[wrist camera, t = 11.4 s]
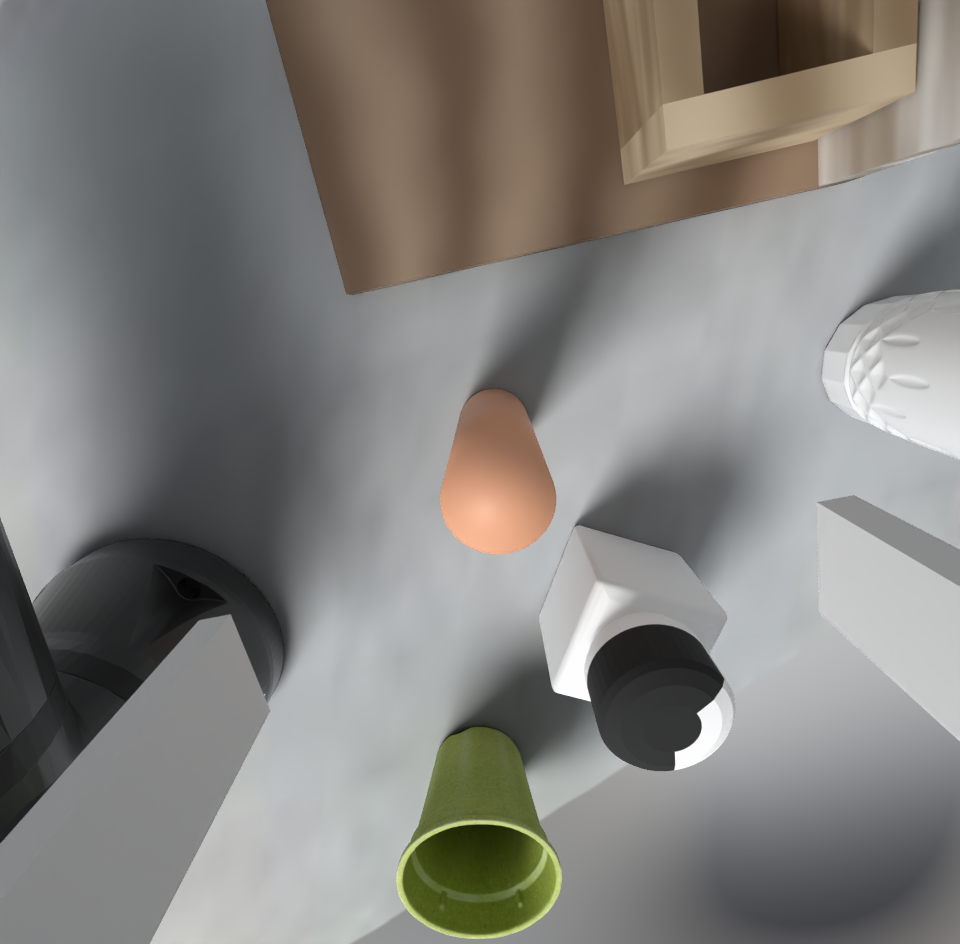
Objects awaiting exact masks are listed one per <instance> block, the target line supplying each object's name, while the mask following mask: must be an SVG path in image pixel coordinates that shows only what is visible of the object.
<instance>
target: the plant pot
mask: <svg viewBox="0 0 960 944" xmlns="http://www.w3.org/2000/svg"><path fill="white" fill-rule="evenodd" d="M396 883H397V889H398V893H399V896H400V898H401V900H402V902H403V904H404V906H405V907H406V908H407V910H408V911H409V912H410V913H411V914H412V915H413V916H414V917H415V918H416V919H418V920H419V921H420V922H422V923H423V924H425V925H426V926H428V927H430V928H431V929H434V930H436V931H439V932H441V933H443V934H446V935H451V936H455V937H461V938H469V939H482V938H497V937H501V936H505V935H509V934H512V933H515V932H518V931H521V930H523V929H525V928H527V927H529V926H530V925H532V924H533V923H534V922H536V921H537V920H539V919H540V918H542V917H543V916H544V915H545V914H546V913H547V912H548V911H549V910H550V909H551V907H552V906H553V904H554V903H555V901H556V899H557V898H558V895H559V893H560V889H561V884H562V870H561V865H560V861H559V858H558V856H557V854H556V852H555V850H554V848H553V847H552V845H551V844H550V843H549V842H548V840H547V837H546V834H545V832H544V830H543V829H542V828H541V826H540V823H539V820H538V816H537V813H536V809H535V806H534V803H533V799H532V795H531V792H530V788H529V785H528V781H527V777H526V773H525V770H524V766H523V762H522V759H521V755H520V752H519V750H518V749H517V747H516V746H515V744H514V743H513V741H512V739H511V738H510V737H508V736H507V735H506V734H504V733H502V732H500V731H498V730H495V729H492V728H487V727H471V728H469V729H467V730H465V731H463V732H461V733H459V734H456V735H451V736H449V737H448V738H447V739H446V740H445V741H444V742H443V744H442V745H441V747H440V748H439V751H438V753H437V757H436V761H435V765H434V769H433V773H432V777H431V781H430V785H429V789H428V792H427V796H426V800H425V804H424V808H423V811H422V815H421V819H420V822H419V826H418V827H417V829H416V831H415V832H414V834H413V836H412V839H411V842H410V843H409V844H408V846H407V847H406V849H405V850H404V852H403V854H402V856H401V858H400V861H399V865H398V869H397V876H396Z"/></svg>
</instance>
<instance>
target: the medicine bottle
mask: <svg viewBox="0 0 960 944" xmlns="http://www.w3.org/2000/svg"><path fill="white" fill-rule="evenodd" d="M726 621H727V615H726V612H725V611H724V610H723V609H722V607H721V606H720V605H719V604H718V602H717V601H716V600H715V599H714V597H713V596H712V595H711V594H710V592H709V591H708V590H707V589H706V587H705V586H704V585H703V584H702V582H701V581H700V580H699V579H698V577H697V576H696V575H695V574H694V572H693V571H692V570H691V569H690V567H689V566H688V565H687V564H686V562H685V561H684V560H683V559H682V557H681V556H680V555H679V554H677V553H675V552H671V551H668V550H664V549H661V548H657V547H654V546H650V545H647V544H643V543H640V542H636V541H633V540H629V539H626V538H622V537H619V536H615V535H612V534H608V533H605V532H601V531H598V530H594V529H591V528H587V527H584V526H580V525H577V526H575V527H574V528H573V531H572V533H571V536H570V538H569V541H568V543H567V546H566V549H565V551H564V554H563V556H562V559H561V561H560V564H559V567H558V569H557V572H556V574H555V577H554V579H553V582H552V584H551V587H550V590H549V592H548V595H547V597H546V600H545V602H544V605H543V607H542V610H541V613H540V615H539V622H540V627H541V632H542V637H543V643H544V648H545V653H546V658H547V663H548V669H549V674H550V679H551V684H552V688H553V690H554V691H555V692H556V693H559V694H563V695H567V696H571V697H575V698H579V699H583V700H587V701H591V703H592V707H593V710H594V714H595V717H596V721H597V724H598V728H599V731H600V735H601V737H602V739H603V741H604V743H605V744H606V746H607V747H608V748H609V750H610V751H611V752H612V753H613V754H615V755H616V756H617V757H619V758H620V759H622V760H623V761H625V762H627V763H629V764H631V765H634V766H637V767H639V768H643V769H647V770H654V771H671V770H678V769H682V768H685V767H689V766H692V765H694V764H696V763H698V762H700V761H702V760H704V759H705V758H707V757H708V756H710V755H711V754H712V753H714V752H715V751H716V750H717V749H718V748H719V747H720V745H721V744H722V743H723V742H724V740H725V739H726V737H727V735H728V733H729V731H730V729H731V726H732V724H733V721H734V717H735V699H734V695H733V692H732V690H731V688H730V686H729V684H728V683H727V681H726V680H725V678H724V677H723V675H722V673H721V672H720V670H719V669H718V667H717V666H716V664H715V663H714V661H713V660H712V658H711V657H710V655H709V654H710V652H711V650H712V648H713V646H714V644H715V642H716V640H717V638H718V636H719V634H720V632H721V630H722V628H723V626H724V625H725V623H726Z"/></svg>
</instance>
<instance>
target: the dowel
mask: <svg viewBox="0 0 960 944" xmlns="http://www.w3.org/2000/svg"><path fill="white" fill-rule="evenodd" d="M440 505H441V511H442V515H443V518H444V521H445V523H446V524H447V526H448V528H449V529H450V531H451V532H452V533H453V534H454V536H455V537H456V538H457V539H459V540H460V541H461V542H462V543H464V544H465V545H467V546H468V547H470V548H472V549H474V550H477V551H480V552H484V553H489V554H506V553H512V552H516V551H519V550H521V549H524V548H526V547H527V546H529V545H531V544H532V543H534V542H535V541H536V540H538V539H539V538H540V537H541V536H542V535H543V533H544V532H545V531H546V530H547V528H548V526H549V525H550V523H551V521H552V518H553V516H554V512H555V507H556V491H555V487H554V483H553V480H552V478H551V475H550V472H549V470H548V467H547V464H546V462H545V459H544V457H543V454H542V451H541V449H540V446H539V443H538V441H537V438H536V436H535V433H534V430H533V428H532V425H531V422H530V420H529V417H528V414H527V412H526V409H525V407H524V405H523V404H522V402H521V401H520V400H519V399H518V398H517V397H516V396H515V395H513V394H512V393H510V392H508V391H505V390H501V389H486V390H483V391H480V392H478V393H476V394H475V395H473V396H472V397H471V398H470V399H469V400H468V401H467V402H466V403H465V405H464V406H463V408H462V411H461V414H460V418H459V422H458V425H457V429H456V433H455V437H454V441H453V445H452V449H451V453H450V457H449V461H448V465H447V469H446V473H445V477H444V481H443V485H442V489H441V495H440Z"/></svg>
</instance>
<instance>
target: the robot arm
mask: <svg viewBox="0 0 960 944" xmlns="http://www.w3.org/2000/svg"><path fill="white" fill-rule="evenodd" d="M817 527H818V577H819V613H820V614H821V615H822V616H823V617H824V618H825V619H826V620H827V621H828V622H829V623H831V624H832V625H833V626H834V627H835V628H836V629H837V630H838V631H839V632H841V633H842V634H843V635H844V636H845V637H846V638H847V639H848V640H849V641H850V642H851V643H853V644H854V645H855V646H856V647H857V648H858V649H859V650H860V651H861V652H862V653H863V654H865V655H866V656H867V657H868V658H869V659H870V660H871V661H872V662H873V663H874V664H875V665H877V666H878V667H879V668H880V669H881V670H882V671H883V672H884V673H885V674H886V675H888V676H889V677H890V678H891V679H892V680H893V681H894V682H895V683H896V684H897V685H898V686H900V687H901V688H902V689H903V690H904V691H905V692H906V693H908V695H909V696H911V697H912V698H913V699H914V700H915V701H916V702H917V703H918V704H919V705H920V706H922V707H923V708H924V709H925V710H926V711H927V712H928V713H929V714H930V715H931V716H932V717H933V718H935V719H936V720H937V721H938V722H939V723H940V724H941V725H943V727H944V728H946V729H947V730H948V731H949V732H950V733H951V734H952V735H953V736H954V737H955V738H957V739H958V740H959V741H960V549H958V548H956V547H954V546H952V545H950V544H948V543H946V542H944V541H942V540H940V539H938V538H936V537H934V536H932V535H930V534H928V533H927V532H925V531H923V530H921V529H919V528H917V527H915V526H913V525H911V524H909V523H907V522H905V521H903V520H901V519H899V518H897V517H895V516H893V515H891V514H889V513H888V512H886V511H884V510H882V509H880V508H878V507H876V506H874V505H872V504H870V503H868V502H866V501H864V500H862V499H860V498H858V497H856V496H854V495H853V496H848V497H842V498H837V499H832V500H827V501H822V502H817ZM283 659H284V650H283V641H282V635H281V631H280V628H279V625H278V622H277V620H276V617H275V615H274V613H273V611H272V609H271V607H270V606H269V604H268V603H267V601H266V600H265V598H264V597H263V595H262V594H261V593H260V592H259V590H258V589H257V588H256V587H255V586H254V585H253V584H252V583H251V582H250V581H249V580H248V579H247V578H246V577H245V576H244V575H243V574H242V573H240V572H239V571H238V570H237V569H235V568H234V567H232V566H231V565H230V564H228V563H226V562H225V561H223V560H222V559H220V558H218V557H216V556H214V555H212V554H210V553H208V552H206V551H204V550H201V549H198V548H196V547H193V546H190V545H186V544H183V543H178V542H174V541H168V540H160V539H135V540H127V541H121V542H117V543H113V544H110V545H107V546H104V547H102V548H99V549H97V550H95V551H93V552H91V553H90V554H88V555H87V556H85V557H83V558H82V559H80V560H79V561H77V562H76V563H74V564H73V565H71V566H70V567H68V568H66V569H65V570H63V571H62V572H61V573H59V574H58V575H57V576H55V577H54V578H53V579H52V580H51V581H50V582H49V583H48V584H47V585H46V586H45V587H44V588H43V589H42V591H41V592H40V593H39V595H38V596H37V597H36V599H35V600H34V601H33V604H32V603H31V600H30V597H29V594H28V592H27V589H26V586H25V584H24V581H23V578H22V576H21V573H20V570H19V567H18V565H17V562H16V559H15V557H14V554H13V551H12V548H11V546H10V543H9V540H8V538H7V535H6V532H5V529H4V527H3V524H2V521H1V519H0V944H150V942H151V940H152V938H153V936H154V934H155V932H156V930H157V928H158V926H159V925H160V923H161V921H162V919H163V917H164V915H165V913H166V911H167V909H168V907H169V905H170V903H171V901H172V899H173V897H174V896H175V894H176V892H177V890H178V888H179V886H180V884H181V882H182V880H183V878H184V876H185V874H186V872H187V870H188V868H189V867H190V865H191V863H192V861H193V859H194V857H195V855H196V853H197V851H198V849H199V847H200V845H201V843H202V841H203V839H204V838H205V836H206V834H207V832H208V830H209V828H210V826H211V824H212V822H213V820H214V818H215V816H216V814H217V812H218V810H219V809H220V807H221V805H222V803H223V801H224V799H225V797H226V795H227V793H228V791H229V789H230V787H231V785H232V783H233V781H234V780H235V778H236V776H237V774H238V772H239V770H240V768H241V766H242V764H243V762H244V760H245V758H246V756H247V754H248V752H249V751H250V749H251V747H252V745H253V743H254V741H255V739H256V737H257V735H258V733H259V731H260V729H261V727H262V725H263V723H264V722H265V720H266V718H267V716H268V714H269V712H270V709H269V707H268V704H267V703H268V701H269V699H270V697H271V696H272V694H273V692H274V690H275V688H276V686H277V684H278V681H279V679H280V675H281V672H282V667H283Z"/></svg>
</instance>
